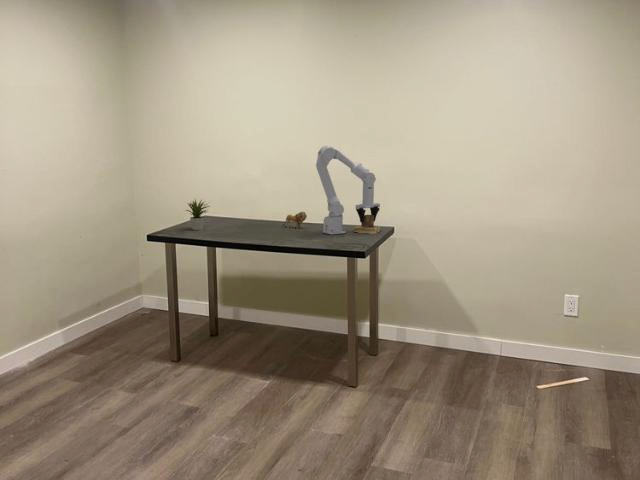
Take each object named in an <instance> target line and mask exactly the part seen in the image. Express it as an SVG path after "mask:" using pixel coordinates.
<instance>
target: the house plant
mask: <svg viewBox="0 0 640 480" xmlns="http://www.w3.org/2000/svg"><path fill="white" fill-rule="evenodd" d="M205 203H206V204H205ZM209 203H210V204H211V202H206V201H203V199H201V200H199V203H197V200H196V198H194V200H192V201H191V202H186V204H187V205H188V207H189V208H190V209H191V210H189V209H185V210H184V211H185V212H186V211H187V212H190V214H191V215H192V216H191V217H190V218H189V219H190V223H191V228H192V230H193V231H201V230H203V227H204V219H205V218H204V217H203V216H202V215H203V214H206V212H207V213H208V212H209V210H210V209H208V208H210V207H211V205H208V204H209ZM206 208H207V209H206Z"/></svg>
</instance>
